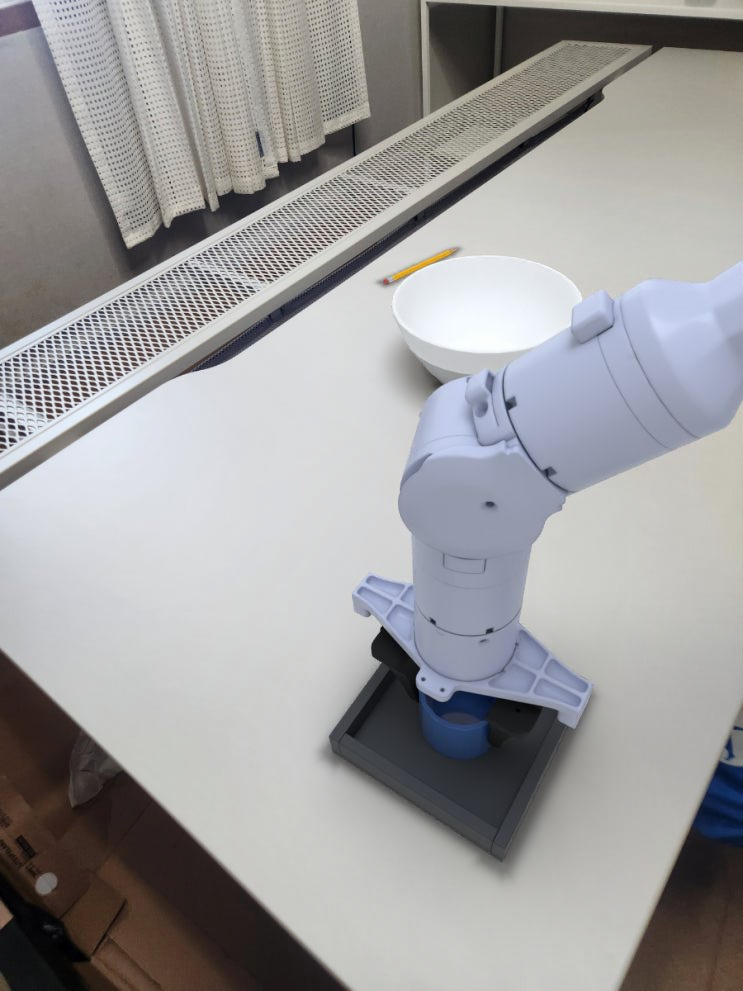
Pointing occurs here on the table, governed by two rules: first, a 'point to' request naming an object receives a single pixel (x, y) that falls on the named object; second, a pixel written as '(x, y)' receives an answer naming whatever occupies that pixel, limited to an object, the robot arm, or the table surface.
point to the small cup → (456, 724)
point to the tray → (446, 764)
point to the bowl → (481, 312)
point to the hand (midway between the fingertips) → (459, 710)
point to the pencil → (418, 266)
